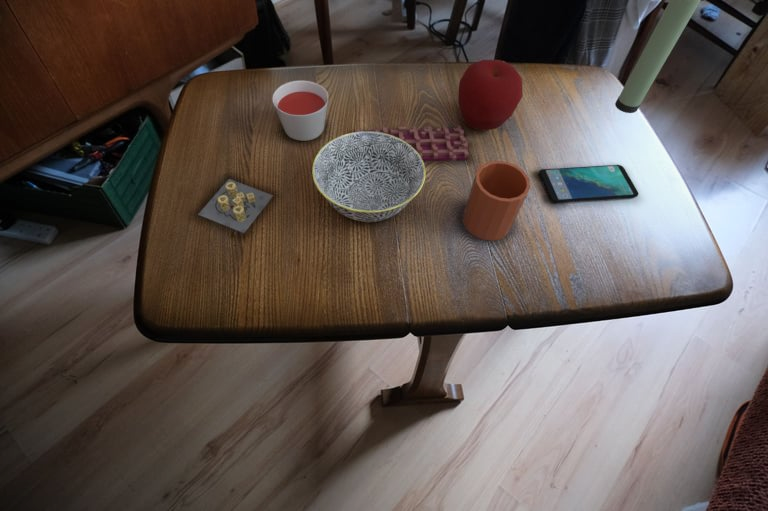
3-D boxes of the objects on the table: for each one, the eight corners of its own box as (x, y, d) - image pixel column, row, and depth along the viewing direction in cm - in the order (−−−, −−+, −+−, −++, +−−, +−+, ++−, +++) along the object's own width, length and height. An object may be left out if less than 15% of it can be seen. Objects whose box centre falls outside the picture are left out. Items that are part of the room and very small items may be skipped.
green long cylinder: (619, 113, 58) (724, -77, 41) (611, 100, 60) (708, -88, 43) (640, 113, 59) (753, -76, 42) (632, 100, 60) (736, -87, 43)
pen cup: (520, 224, 68) (541, 183, 60) (488, 249, 65) (505, 209, 57) (485, 195, 71) (500, 153, 63) (452, 218, 68) (464, 176, 60)
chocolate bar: (470, 160, 75) (473, 151, 73) (358, 163, 73) (359, 154, 71) (462, 131, 79) (464, 122, 77) (356, 134, 77) (356, 125, 75)
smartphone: (538, 168, 73) (622, 163, 75) (536, 172, 74) (620, 167, 76) (552, 201, 69) (640, 195, 71) (550, 204, 70) (638, 198, 72)
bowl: (349, 153, 74) (349, 116, 68) (435, 189, 71) (443, 154, 65) (295, 217, 66) (289, 182, 60) (389, 261, 63) (393, 229, 56)
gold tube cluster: (242, 223, 65) (239, 214, 64) (213, 211, 66) (209, 202, 64) (261, 199, 68) (259, 191, 66) (232, 188, 69) (229, 180, 67)
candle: (271, 119, 78) (265, 88, 73) (318, 106, 81) (316, 75, 75) (288, 152, 74) (283, 121, 68) (338, 137, 76) (337, 106, 71)
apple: (480, 152, 76) (497, 94, 66) (438, 119, 80) (449, 59, 71) (522, 128, 80) (545, 69, 70) (480, 97, 85) (496, 38, 75)
